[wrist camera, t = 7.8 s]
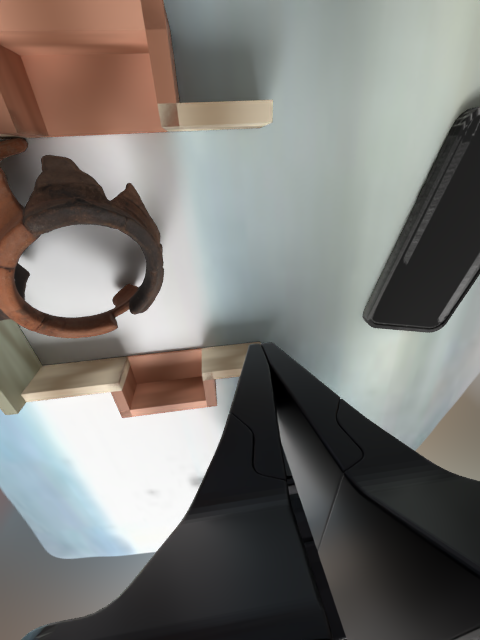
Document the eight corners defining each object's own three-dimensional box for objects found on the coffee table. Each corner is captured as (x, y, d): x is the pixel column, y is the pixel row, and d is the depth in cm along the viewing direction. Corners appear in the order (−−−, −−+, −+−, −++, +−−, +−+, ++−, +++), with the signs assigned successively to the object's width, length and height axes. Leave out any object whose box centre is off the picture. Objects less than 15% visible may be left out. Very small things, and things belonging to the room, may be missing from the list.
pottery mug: (49, 79, 13) (87, 122, 9) (159, 223, 21) (208, 283, 17) (-155, 228, 13) (-224, 352, 8) (36, 316, 21) (53, 403, 16)
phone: (576, 132, 16) (439, 333, 24) (555, 133, 17) (430, 326, 25) (472, 100, 14) (362, 327, 22) (455, 103, 15) (355, 320, 23)
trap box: (259, 29, 12) (281, -17, 9) (260, 374, 25) (269, 409, 21) (-177, 34, 11) (-344, -19, 8) (52, 399, 23) (26, 441, 20)
